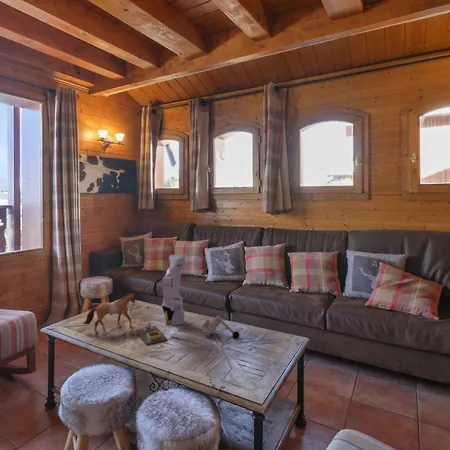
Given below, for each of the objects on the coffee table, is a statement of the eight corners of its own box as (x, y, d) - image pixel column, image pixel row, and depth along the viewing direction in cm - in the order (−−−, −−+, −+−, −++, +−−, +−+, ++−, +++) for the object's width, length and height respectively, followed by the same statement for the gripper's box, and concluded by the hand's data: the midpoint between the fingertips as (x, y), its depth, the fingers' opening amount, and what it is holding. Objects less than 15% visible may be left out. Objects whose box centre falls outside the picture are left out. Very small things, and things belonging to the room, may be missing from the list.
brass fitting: (170, 322, 194) (170, 309, 193) (172, 324, 191) (172, 311, 190) (164, 323, 192) (164, 310, 191) (166, 326, 188) (166, 312, 188)
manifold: (155, 327, 200) (155, 317, 200) (167, 340, 182) (167, 330, 182) (135, 331, 194) (135, 321, 194) (146, 345, 176) (146, 334, 176)
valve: (222, 356, 185) (239, 339, 181) (197, 331, 186) (213, 315, 182) (226, 346, 195) (242, 331, 190) (202, 323, 196) (218, 307, 192)
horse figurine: (136, 323, 207) (135, 291, 205) (138, 327, 200) (138, 295, 198) (83, 331, 193) (82, 298, 191) (84, 336, 186) (83, 302, 184)
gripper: (157, 294, 194) (157, 316, 195) (166, 301, 181) (166, 324, 183) (168, 292, 197) (168, 313, 199) (178, 299, 185) (178, 322, 186)
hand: (168, 318), depth 191 cm, fingers closed on brass fitting, 4 cm apart
